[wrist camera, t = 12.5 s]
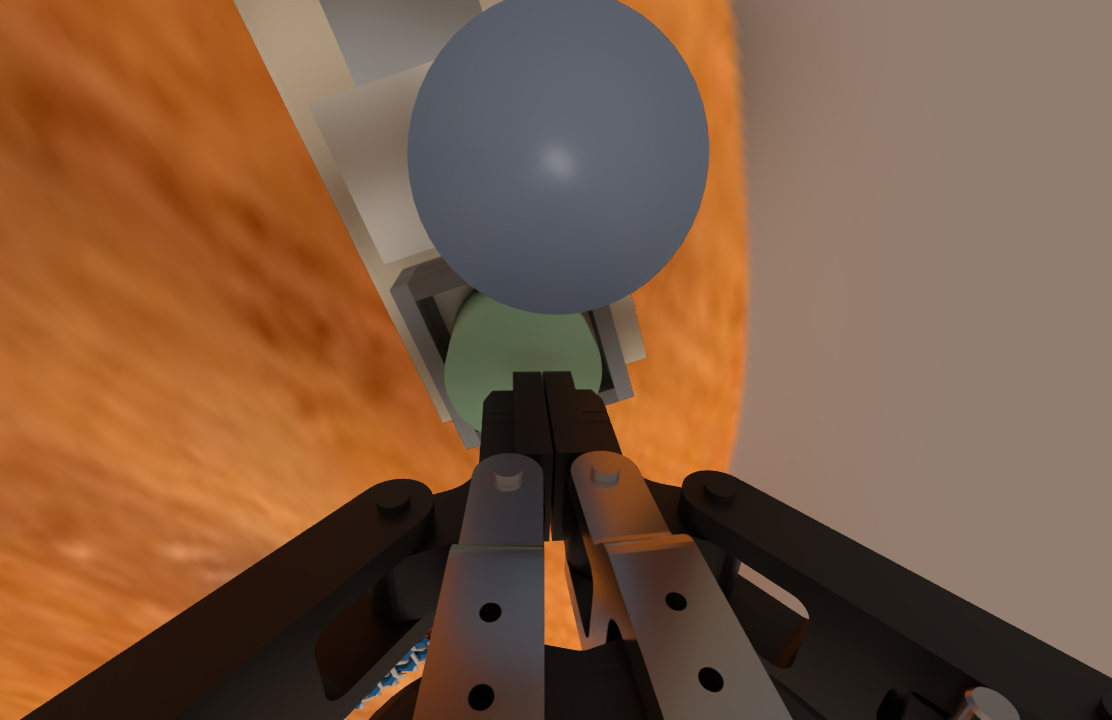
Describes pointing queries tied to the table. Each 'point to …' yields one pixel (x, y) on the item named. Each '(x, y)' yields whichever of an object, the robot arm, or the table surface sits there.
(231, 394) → the table surface
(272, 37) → the grey rectangular tray
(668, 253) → the ball
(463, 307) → the button
